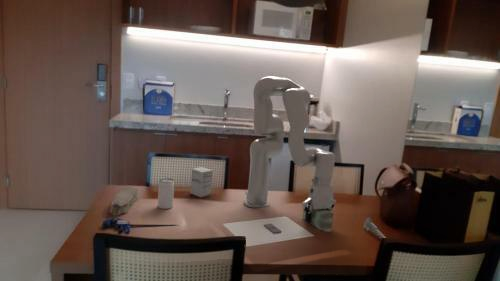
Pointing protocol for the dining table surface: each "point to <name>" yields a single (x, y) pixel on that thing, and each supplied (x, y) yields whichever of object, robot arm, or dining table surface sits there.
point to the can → (165, 193)
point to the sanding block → (321, 219)
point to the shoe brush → (123, 200)
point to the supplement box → (201, 181)
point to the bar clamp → (122, 224)
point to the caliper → (372, 228)
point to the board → (262, 235)
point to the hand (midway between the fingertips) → (317, 220)
